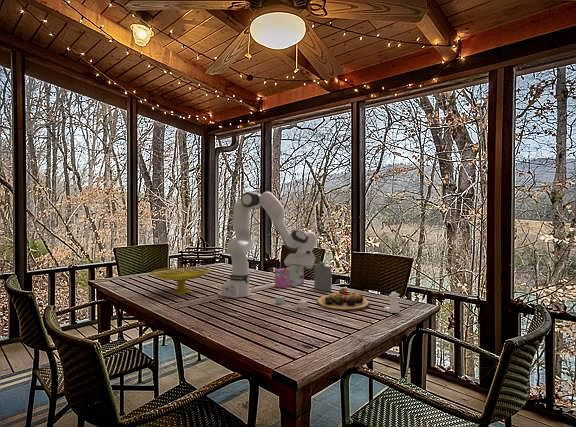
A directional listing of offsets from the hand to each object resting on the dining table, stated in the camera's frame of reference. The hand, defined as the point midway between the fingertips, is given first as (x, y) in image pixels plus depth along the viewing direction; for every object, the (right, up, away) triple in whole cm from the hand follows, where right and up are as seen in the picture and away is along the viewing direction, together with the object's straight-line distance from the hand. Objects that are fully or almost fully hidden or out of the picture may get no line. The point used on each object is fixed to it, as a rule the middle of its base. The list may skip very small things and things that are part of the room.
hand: (293, 271), depth 218 cm
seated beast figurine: (+57, -21, -14) cm, 63 cm away
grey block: (-8, -20, +4) cm, 22 cm away
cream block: (+5, -21, -7) cm, 22 cm away
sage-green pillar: (0, -5, +1) cm, 5 cm away
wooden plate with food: (+31, -21, +3) cm, 37 cm away
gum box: (-2, -20, +55) cm, 59 cm away
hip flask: (+22, -20, +41) cm, 51 cm away
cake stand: (-79, -20, +30) cm, 86 cm away
